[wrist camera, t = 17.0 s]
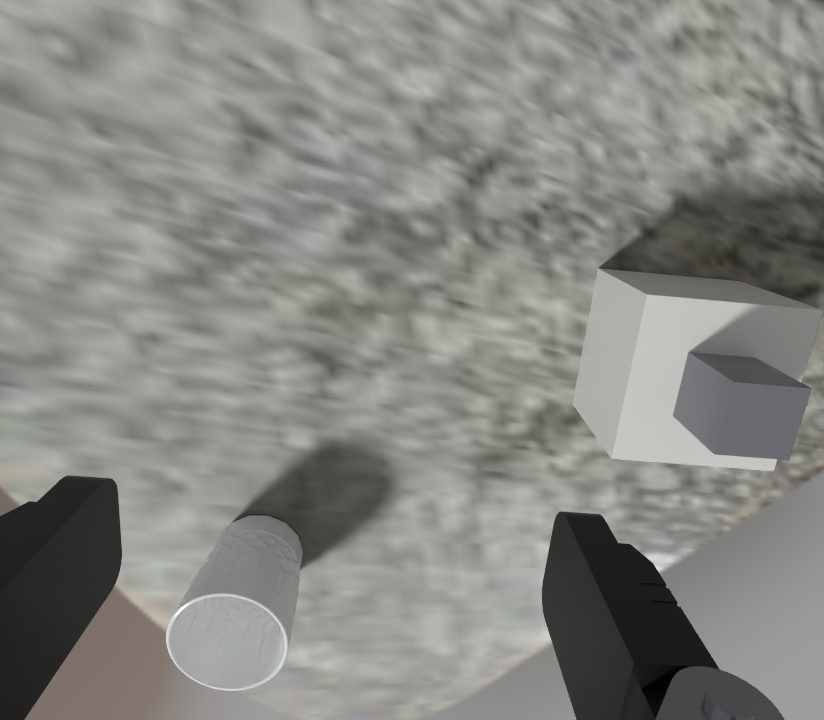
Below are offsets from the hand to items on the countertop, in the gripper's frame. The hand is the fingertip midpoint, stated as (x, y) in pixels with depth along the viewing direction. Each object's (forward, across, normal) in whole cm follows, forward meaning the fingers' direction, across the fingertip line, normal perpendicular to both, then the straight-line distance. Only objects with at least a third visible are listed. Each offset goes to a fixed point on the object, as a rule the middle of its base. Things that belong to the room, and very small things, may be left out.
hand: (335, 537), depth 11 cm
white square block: (+32, -20, +4) cm, 38 cm away
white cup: (+32, +8, +24) cm, 41 cm away
